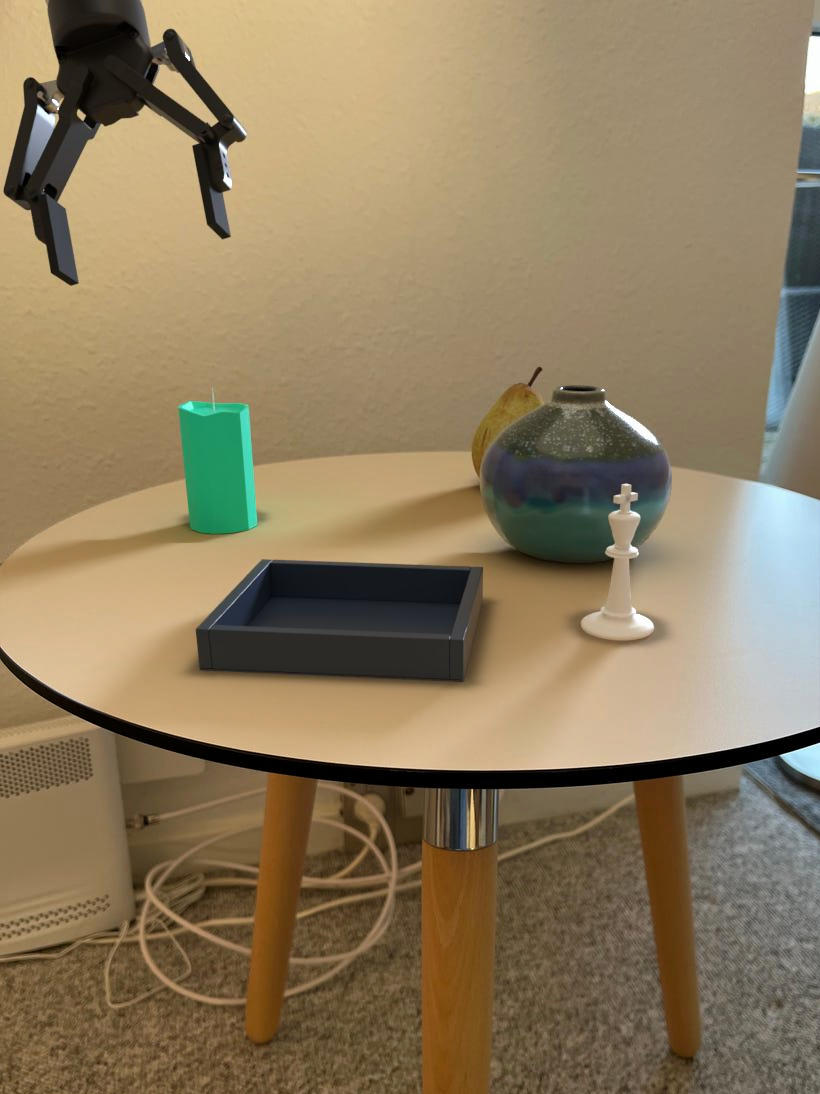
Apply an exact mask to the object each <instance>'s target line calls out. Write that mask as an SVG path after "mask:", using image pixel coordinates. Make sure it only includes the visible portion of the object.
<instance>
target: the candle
mask: <svg viewBox="0 0 820 1094" xmlns="http://www.w3.org/2000/svg"><path fill="white" fill-rule="evenodd" d="M210 389H211V398H212V399H211V400H212V402H209V401H208V402H207V401H194V400H188V401H185V402H184V403H181V404H179V405H178V407H177V409H178V418H179V428H180V437H181V448H182V458H183V469H184V479H185V489H186V501H187V508H188V509H187V510H188V518H189V519H188V520H189V529H190V530H193V531H195V532H198V533H203V534H211V535H219V534H220V535H221V534H235V533H240V532H246V531H249V530H251V529H253V528H255V527H257V526H258V513H257V499H256V488H255V487H256V486H255V474H254V473H255V472H254V460H253V447H252V432H251V419H250V408H249V404H247V403H242V402H241V403H240V402H231V403H230V402H229V403H228V402H227V403H223V402H220V403H219V402H215V395H214V387H211V388H210Z"/></svg>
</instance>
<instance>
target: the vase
mask: <svg viewBox="0 0 820 1094" xmlns="http://www.w3.org/2000/svg"><path fill="white" fill-rule="evenodd" d="M544 403H545V404H543V405H541V406H539V407H537V408H535V409H533V410H531V411H530V412H528V413H526V414H524V415H523V416H521V417H519V418H518V419H516V420H515V421H513V422H512V423H510V424H509V425H507V426H506V427H505V428H503V429H502V430H501V431H500V432H499V433H498V434H497V435H496V436H495V438H494V439H493V440H492V441H491V443H490V444H489V446H488V448H487V449H486V451H485V454H484V456H483V459H482V463H481V467H480V479H479V481H478V483H479V493H480V498H481V502H482V506H483V509H484V512H485V514H486V516H487V518H488V521H489V523H490V524H491V526H492V527H493V528H494V530H495V531H496V533H497V534H498V535H499V536H500V537H501V538H502V540H504V541H505V543H507V544H508V545H510V546H511V547H512V548H514V549H516V550H518V552H520V553H523V554H525V555H527V556H529V557H532V558H536V559H538V560H544V561H547V562H554V563H564V564H591V563H600V562H606V561H611V560H614V558H613V557H610V556H608V555H606V554H605V551H606V549H607V547H609V546H613V545H614V544H615V541H614V538H613V535H612V529H611V526H610V523H609V519H608V516H609V514H610V513H612V512H614V511H618V510H620V504H616V503H613V500H614V496H615V495H621V486H622V484H630V485H632V486H631V492H634V493H638V500H636V501H631V502H630V510H631V511H633V512H636V513H637V514H639V515H640V522H639V524H638V526H637V528H636V531H635V534H634V537H633V539H632V541H631V543H630V544H631V545H632V547H635V548H637V549H638V548H639V547H640V546H641V545H643V544H644V543H645V542H646V541H647V540H648V539H650V537H651V536H652V534H653V533H654V532H655V530H656V529H657V528H658V526H659V525H660V523H661V521H662V519H663V517H664V516H665V514H666V511H667V509H668V505H669V502H670V498H671V492H672V489H673V488H672V487H673V486H672V485H673V483H672V481H673V480H672V477H673V476H672V475H673V474H672V467H671V461H670V459H669V455H668V453H667V452H666V449H665V447H664V446H663V444H662V443H661V441H660V440H659V438H658V437H657V436H655V434H654V433H653V432H652V431H651V430H649V429H648V428H647V427H646V426H644V425H643V424H642V423H641V422H639V421H638V420H636V419H635V418H634V417H632V416H631V415H629V414H628V413H626V412H624V411H623V410H621V409H619V408H618V407H616V406H614V405H613V404H611V403H610V402H609V401H608V400H607V398H606V390H605V388H603V387H599V386H595V385H585V384H583V385H582V384H567V385H558V386H555V387H554V388H553V389H552V394H551V397H550V399H549V400H548V401H546V402H544Z"/></svg>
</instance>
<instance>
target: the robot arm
mask: <svg viewBox="0 0 820 1094" xmlns="http://www.w3.org/2000/svg"><path fill="white" fill-rule="evenodd" d="M44 2H45V4H46V7H47V8H46V9H47V18H48V23H49V28H50V33H51V34H50V35H51V39H52V40H51V41H52V45H53V49H54V54H55V56H56V60H57V62H58V72H57V75H56V79H53V80H49V81H44V82H39V81H38V80H37V79H36V78H35V77H33V76H28V77H27V78H26V79H24V80H23V83H22V87H23V88H22V90H23V91H22V92H23V104H24V105H23V111H22V114H21V118H20V122H19V127H18V129H17V134H16V138H15V142H14V145H13V146H14V147H13V150H12V154H11V157H10V162H9V166H8V169H7V172H6V176H5V181H4V186H3V194H4V196H5V197H7V198H8V199H9V200H11V201H12V202H13V203H15V204H17V206H19V207H21V208H22V209H23V210H25V211H30V215H31V220H32V225H33V233H34V236H35V238H36V239H37V240H38V241H39V242H41V243H42V244H44V245H45V248H46V252H47V253H46V254H47V259H48V264H49V270H50V274H52V275H53V276H54V277H56V278H58V279H59V280H61V282H64V283H65V284H66V285H68V286H70V287H72V286H75V285H78V284H79V283H80V282H79V276H78V270H77V264H76V258H75V254H74V247H73V243H72V242H73V241H72V237H71V236H72V235H71V231H70V227H69V225H70V224H69V219H68V214H67V209H66V208H65V206H63V205H62V204H60V203H59V200H60V198H61V196H62V194H63V192H64V190H65V188H66V186H67V184H68V182H69V179H70V178H71V176H72V173H73V172H74V170H75V168H76V166H77V163H78V161H79V160H80V157H81V155H82V153H83V151H84V150H85V147H86V145H87V144H88V141H91V140H93V139H95V137H96V135H97V133H98V132H99V129H100V127H101V125H102V126H103V127H105V128H106V127H108V126H112V125H114V124H115V123H117V122H119V121H121V120H122V119H124V120H125V119H132V118H135V117H139V116H140V113H139V112H140V111H141V110H142V109H143V108H144V107H146V108H148V109H149V110H150V111H152V112H154V113H155V114H156V115H158V116H159V117H162V118H164V119H165V120H166V121H168V122H169V123H170V124H172V125H173V126H174V127H176V128H177V129H179V130H180V131H181V132H183V133H184V134H186V135H187V136H188V137H190V138H191V139H193V140H194V141H195V142H196V143H195V144H192V146H191V147H192V153H193V158H194V163H195V169H196V174H197V179H198V185H199V189H200V190H199V191H200V196H201V200H202V205H203V211H204V216H205V221H206V225H207V226H208V227H209V228H210V230H211V231H213V232H214V233H215V234H216V235H217V236H218V237H219V238H220V239H221V240H226V239H229V238H232V235H231V230H230V224H229V219H228V214H227V209H226V203H225V198H224V193H225V192H229V191H231V190H232V187H233V179H232V174H231V170H230V165H229V158H228V150H229V148H230V147H231V146H232V145H233V144H234V143H235V142H236V143H242V142H244V141H245V140H246V138H247V131H246V129H245V128H244V126H243V125H242V124H241V122H240V121H239V120H238V119H237V117H236V116H235V115H234V113H233V112H232V111H231V110H230V109H229V107H228V106H227V105H226V103H224V101H223V100H222V99H221V98H220V96H219V95H218V94H217V93H216V91H215V90H214V89H213V88H212V86H211V85H210V84H209V83H208V81H207V80H206V79H205V78H204V76H203V75H202V74H201V73H200V71H198V69H197V68H196V67H197V66H196V64H195V60H194V57H193V53H192V51H191V49H190V48H189V47H188V45H187V44H186V43H185V41H184V40H183V39H182V37H181V36H180V35H179V34H178V32H177V31H176V30H175V29H174V28H167V29H166V30H164V32H163V34H162V40H163V41H161V42H159V43H156V44H155V45H153V46H152V44H151V39H150V34H149V28H148V22H147V17H146V12H145V8H144V5H143V0H44ZM162 65H163V66H165V67H166V68H167V69H168V70H169V71H170V72H175V73H177V74H179V75H180V76H181V77H182V78H183V79H184V81H185V82H186V83H187V84H188V85H189V87H190V88H191V89H192V90H193V92H194V93H195V94H196V95H197V97H198V98H199V99H200V100H201V102H202V103H203V104H204V105H205V107H206V108H207V109H208V110H209V112H211V114H212V115H213V117H214V118H215V119H216V120H217V122H216V123H215V124H213V125H212V126H211V124H210V123H209V122H208V121H206V122H205V121H204V120H202V119H201V118H200V117H198V116H197V115H195V113H193V112H192V111H190V110H189V109H187V108H186V107H184V106H183V105H182V104H180V103H179V102H177V101H176V100H175V99H174V98H172V97H170V96H169V95H168V94H166V93H165V92H163V91H162V90H161V89H159V88H158V87H156V86H155V85H154V84H155V82H156V79H157V77H158V74H159V73H160V66H162ZM60 102H61V103H60ZM78 111H80V112H81V113H82V114H83V115H84V118H83V119H82V118H80V117H79V116H78ZM56 115H57V116H58V120H57V122H56Z"/></svg>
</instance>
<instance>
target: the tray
mask: <svg viewBox="0 0 820 1094" xmlns="http://www.w3.org/2000/svg"><path fill="white" fill-rule="evenodd" d="M483 603H484V567H483V566H468V565H467V566H466V565H465V566H463V565H442V564H441V565H438V564H436V565H435V564H411V563H410V564H409V563H408V564H407V563H384V562H383V563H382V562H378V563H377V562H355V561H354V562H352V561H351V562H350V561H326V560H296V559H268V558H265V559H264V558H262V559H261V560H260V561H259V562H258V563H257V564H256V565H255V566H254V567H253V568H252V569H251V570H250V571H249V572H248V573H247V574H246V576H244V577H243V578H242V580H241V581H240V582H238V584H237V585H236V586H234V588H233V589H232V590H231V591H230V592H229V593H228V594H227V595H226V596H225V597H224V598H223V599H222V600H221V601H220V603H218V605H217V606H216V607H215V608H214V609H213V610H212V611H211V612H210V613H209V614H208V615H207V616H206V617H205V618H204V619H203V621H201V623H200V624H199V625H198V626H197V627H196V628H195V638H196V647H197V648H196V649H197V657H198V668H199V671H205V672H207V671H208V672H211V671H212V672H226V673H227V672H229V673H230V672H232V673H250V674H251V673H252V674H253V673H254V674H272V675H273V674H277V675H298V676H300V675H301V676H320V677H321V676H322V677H324V676H325V677H342V678H343V677H344V678H347V677H348V678H365V679H388V680H389V679H390V680H411V681H430V682H431V681H432V682H435V681H436V682H455V683H463V682H464V681H465V677H466V673H467V669H468V664H469V660H470V656H471V652H472V648H473V644H474V640H475V636H476V632H477V627H478V624H479V619H480V615H481V611H482V607H483Z"/></svg>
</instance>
